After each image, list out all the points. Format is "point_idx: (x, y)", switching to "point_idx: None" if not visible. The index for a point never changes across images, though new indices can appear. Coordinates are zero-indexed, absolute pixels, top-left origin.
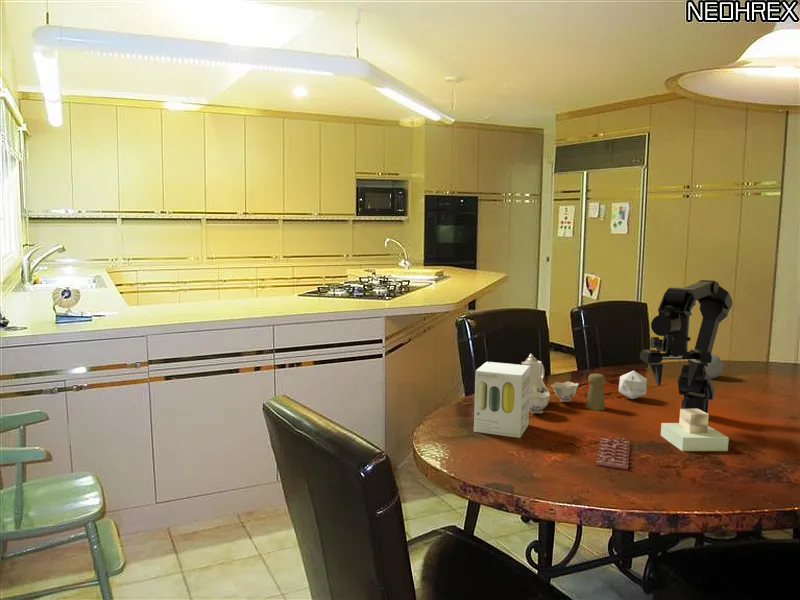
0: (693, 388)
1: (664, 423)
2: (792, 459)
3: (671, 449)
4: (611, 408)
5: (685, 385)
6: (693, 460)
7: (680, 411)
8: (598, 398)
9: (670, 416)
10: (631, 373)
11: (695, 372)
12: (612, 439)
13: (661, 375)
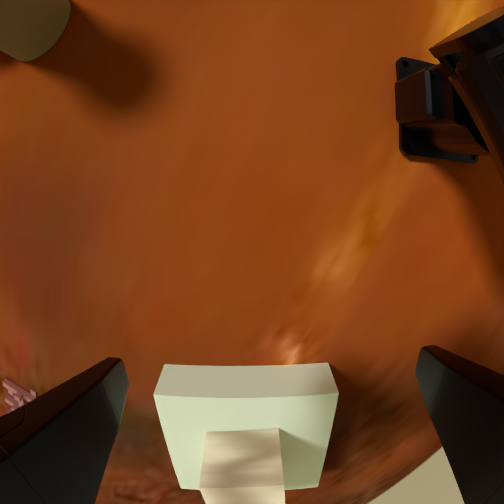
0: (501, 171)
1: (163, 400)
2: (414, 469)
3: (161, 451)
4: (96, 7)
5: (481, 119)
6: (191, 491)
7: (200, 482)
8: (2, 42)
9: (329, 104)
10: None
11: (466, 497)
12: (24, 396)
13: (95, 490)
